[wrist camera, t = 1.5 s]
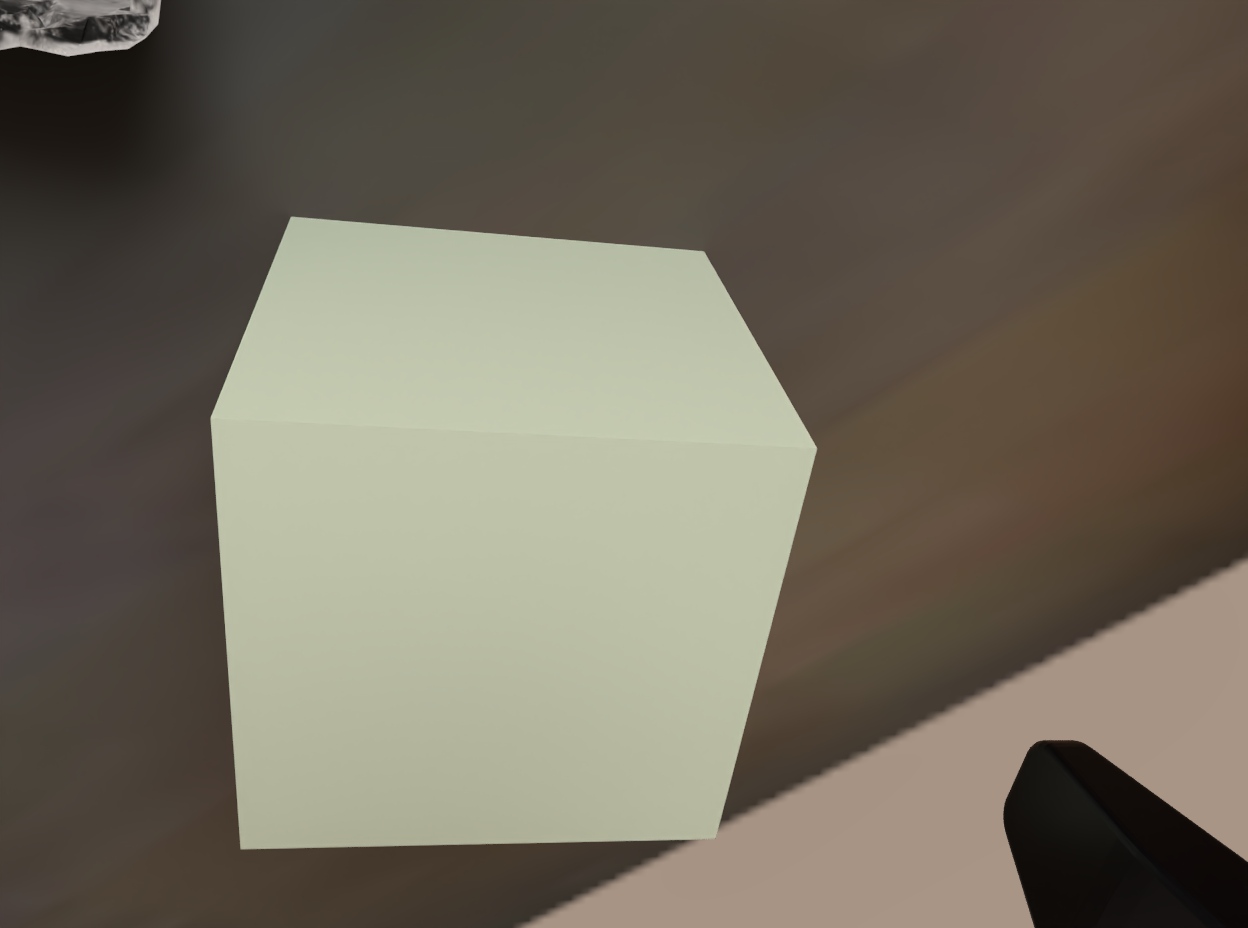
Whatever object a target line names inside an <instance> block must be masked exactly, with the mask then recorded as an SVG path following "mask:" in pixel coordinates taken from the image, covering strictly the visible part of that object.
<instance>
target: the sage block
mask: <svg viewBox="0 0 1248 928" xmlns="http://www.w3.org/2000/svg"><path fill="white" fill-rule="evenodd" d="M211 430H212V445H213V459H214V474H215V488H216V502H217V517H218V531H219V545H220V560H221V574H222V589H223V603H224V617H225V632H226V646H227V661H228V675H229V689H230V704H231V718H232V732H233V747H234V761H235V776H236V790H237V804H238V819H239V833H240V847H241V849H276V848H322V847H369V846H415V845H461V844H507V843H554V842H600V841H646V840H693V839H716V835H717V831H718V827H719V824H720V820H721V816H722V812H723V808H724V804H725V801H726V797H727V793H728V789H729V785H730V781H731V777H732V774H733V770H734V766H735V762H736V758H737V754H738V751H739V747H740V743H741V739H742V735H743V731H744V727H745V724H746V720H747V716H748V712H749V708H750V704H751V701H752V697H753V693H754V689H755V685H756V681H757V677H758V674H759V670H760V666H761V662H762V658H763V654H764V651H765V647H766V643H767V639H768V635H769V631H770V627H771V624H772V620H773V616H774V612H775V608H776V604H777V601H778V597H779V593H780V589H781V585H782V581H783V577H784V574H785V570H786V566H787V562H788V558H789V554H790V551H791V547H792V543H793V539H794V535H795V531H796V528H797V524H798V520H799V516H800V512H801V508H802V504H803V501H804V497H805V493H806V489H807V485H808V481H809V478H810V474H811V470H812V466H813V462H814V458H815V454H816V451H817V447H816V446H815V444H814V442H813V440H812V439H811V437H810V435H809V433H808V432H807V430H806V428H805V426H804V425H803V423H802V421H801V419H800V418H799V416H798V414H797V413H796V411H795V409H794V407H793V406H792V404H791V402H790V400H789V399H788V397H787V395H786V393H785V392H784V390H783V388H782V386H781V385H780V383H779V381H778V379H777V378H776V376H775V374H774V372H773V371H772V369H771V367H770V366H769V364H768V362H767V360H766V359H765V357H764V355H763V353H762V352H761V350H760V348H759V346H758V345H757V343H756V341H755V339H754V338H753V336H752V334H751V332H750V331H749V329H748V327H747V326H746V324H745V322H744V320H743V319H742V317H741V315H740V313H739V312H738V310H737V308H736V306H735V305H734V303H733V301H732V299H731V298H730V296H729V294H728V292H727V291H726V289H725V287H724V285H723V284H722V282H721V280H720V279H719V277H718V275H717V273H716V272H715V270H714V268H713V266H712V265H711V263H710V261H709V259H708V258H707V256H706V254H705V252H704V251H692V250H680V249H669V248H657V247H645V246H633V245H621V244H609V243H597V242H585V241H573V240H561V239H549V238H538V237H526V236H514V235H502V234H490V233H478V232H466V231H454V230H442V229H430V228H418V227H407V226H395V225H383V224H371V223H359V222H347V221H335V220H323V219H311V218H299V217H291V218H290V221H289V223H288V226H287V228H286V231H285V233H284V236H283V238H282V241H281V243H280V246H279V248H278V251H277V253H276V256H275V258H274V261H273V263H272V266H271V268H270V271H269V273H268V276H267V278H266V281H265V283H264V286H263V288H262V291H261V293H260V296H259V298H258V301H257V303H256V306H255V308H254V311H253V313H252V316H251V318H250V321H249V323H248V326H247V328H246V331H245V333H244V336H243V338H242V341H241V343H240V346H239V348H238V351H237V353H236V356H235V358H234V361H233V363H232V366H231V368H230V371H229V373H228V376H227V378H226V381H225V383H224V386H223V388H222V391H221V393H220V396H219V398H218V401H217V403H216V406H215V408H214V411H213V413H212V416H211Z"/></svg>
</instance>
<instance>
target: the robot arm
mask: <svg viewBox="0 0 1248 928" xmlns="http://www.w3.org/2000/svg"><path fill="white" fill-rule="evenodd" d="M1003 815H1004V818H1003V819H1004V827H1005V832H1006V835H1007V839H1008V842H1009V845H1010V848H1011V852H1012V855H1013V858H1014V862H1015V865H1016V868H1017V871H1018V875H1019V878H1020V881H1021V884H1022V888H1023V891H1024V894H1025V898H1026V901H1027V904H1028V908H1029V911H1030V914H1031V918H1032V921H1033V924H1034V927H1035V928H1248V862H1247V861H1245V860H1244V859H1243V858H1242V857H1240V856H1239V855H1237V854H1236V853H1235V852H1233V851H1232V850H1231V849H1229V848H1228V847H1226V846H1225V845H1224V844H1222V843H1221V842H1220V841H1218V840H1217V839H1215V838H1214V837H1213V836H1211V835H1210V834H1209V833H1207V832H1206V831H1205V830H1203V829H1202V828H1200V827H1199V826H1198V825H1196V824H1195V823H1193V822H1192V821H1191V820H1189V819H1188V818H1187V817H1185V816H1184V815H1182V814H1181V813H1180V812H1178V811H1177V810H1176V809H1174V808H1173V807H1171V806H1170V805H1169V804H1168V803H1166V802H1165V801H1163V800H1162V799H1160V798H1159V797H1158V796H1156V795H1155V794H1154V793H1152V792H1151V791H1149V790H1148V789H1147V788H1146V787H1144V786H1143V785H1141V784H1140V783H1139V782H1137V781H1136V780H1135V779H1133V778H1132V777H1130V776H1129V775H1128V774H1126V773H1125V772H1124V771H1122V770H1121V769H1119V768H1118V767H1117V766H1115V765H1114V764H1113V763H1111V762H1110V761H1108V760H1107V759H1106V758H1104V757H1103V756H1102V755H1100V754H1099V753H1098V752H1096V751H1095V750H1093V749H1092V748H1091V747H1089V746H1087V745H1086V744H1084V743H1082V742H1079V741H1073V740H1071V741H1070V740H1064V741H1063V740H1062V741H1061V740H1058V741H1057V740H1055V741H1054V740H1047V741H1046V740H1043V741H1039V742H1036V743H1035V744H1034V745H1033V746H1032V747H1030V749H1029V751H1028V752H1027V754H1026V757H1025V759H1024V761H1023V763H1022V766H1021V768H1020V770H1019V772H1018V774H1017V777H1016V779H1015V781H1014V783H1013V785H1012V788H1011V790H1010V792H1009V794H1008V797H1007V799H1006V801H1005V806H1004V814H1003Z"/></svg>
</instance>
